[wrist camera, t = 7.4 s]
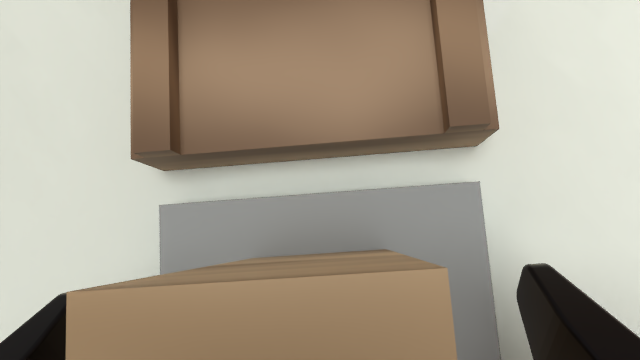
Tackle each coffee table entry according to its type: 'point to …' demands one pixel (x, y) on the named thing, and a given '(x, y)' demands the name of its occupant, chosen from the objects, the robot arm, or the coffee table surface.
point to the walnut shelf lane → (306, 79)
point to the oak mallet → (271, 311)
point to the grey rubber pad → (351, 240)
